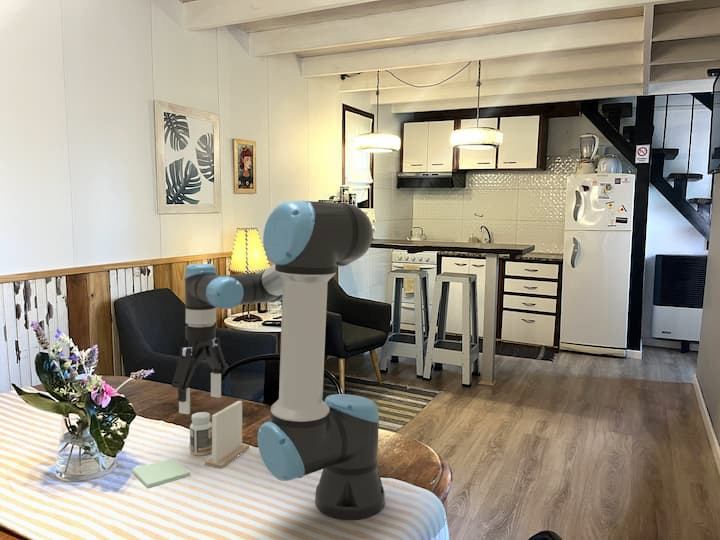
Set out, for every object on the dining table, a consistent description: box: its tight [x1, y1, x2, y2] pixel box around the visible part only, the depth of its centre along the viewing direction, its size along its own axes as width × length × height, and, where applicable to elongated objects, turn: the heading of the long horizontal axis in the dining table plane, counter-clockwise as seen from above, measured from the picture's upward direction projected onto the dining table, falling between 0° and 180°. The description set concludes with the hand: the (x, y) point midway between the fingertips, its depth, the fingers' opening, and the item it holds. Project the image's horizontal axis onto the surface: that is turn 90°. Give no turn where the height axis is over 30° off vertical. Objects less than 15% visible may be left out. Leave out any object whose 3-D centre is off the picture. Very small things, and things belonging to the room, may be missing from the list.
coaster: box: [131, 457, 191, 489], centre depth 133 cm, size 10×10×1 cm
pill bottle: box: [189, 411, 212, 456], centre depth 145 cm, size 6×6×10 cm
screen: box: [203, 400, 250, 469], centre depth 142 cm, size 13×5×13 cm, turn 161°
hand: (200, 404), depth 145 cm, fingers open, 13 cm apart
